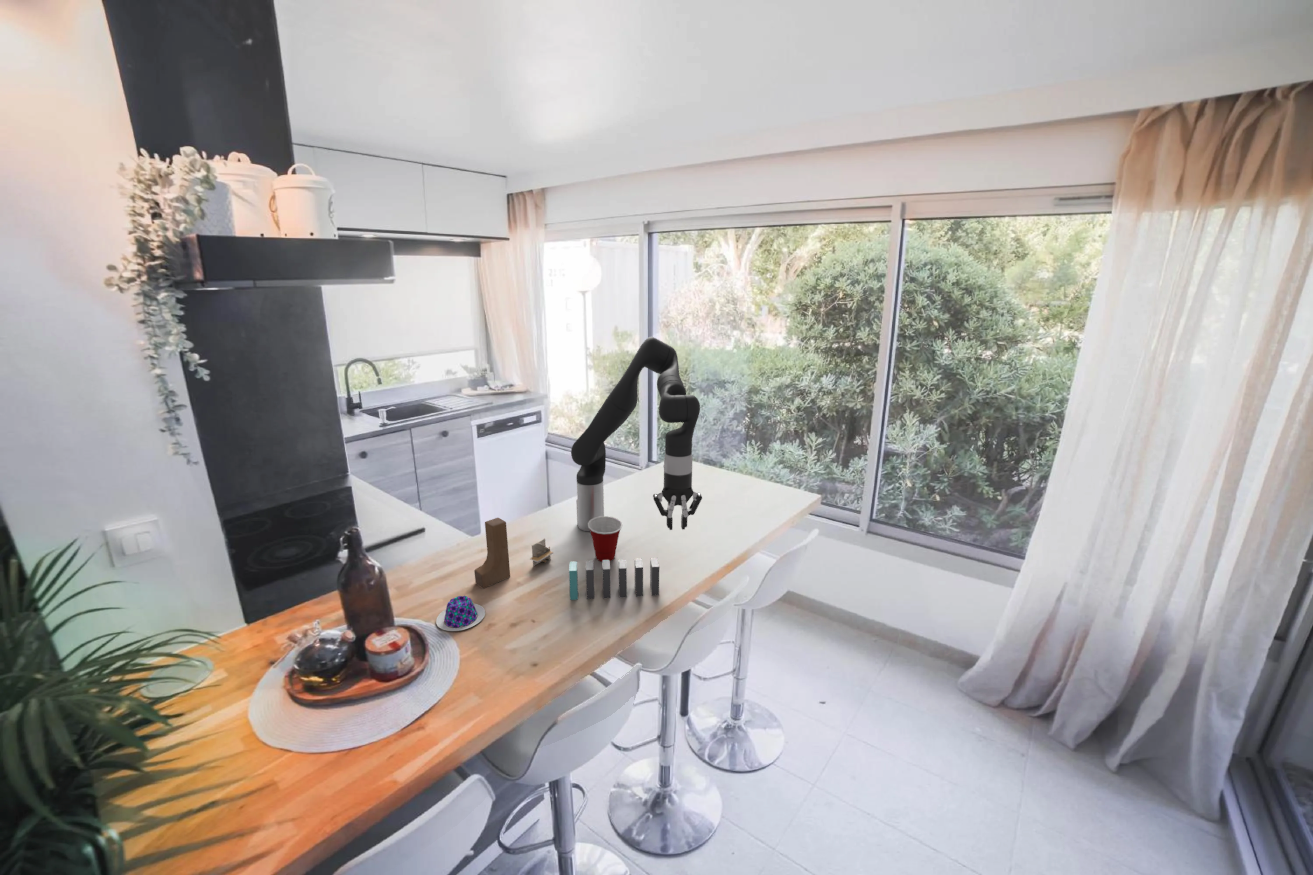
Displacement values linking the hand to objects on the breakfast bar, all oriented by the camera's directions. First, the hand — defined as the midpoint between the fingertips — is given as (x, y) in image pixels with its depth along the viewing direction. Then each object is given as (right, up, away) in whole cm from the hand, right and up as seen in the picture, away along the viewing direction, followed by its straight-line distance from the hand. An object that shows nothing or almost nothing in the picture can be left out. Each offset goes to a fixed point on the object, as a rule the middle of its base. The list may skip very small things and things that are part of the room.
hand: (676, 528), depth 147 cm
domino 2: (-24, -19, +3) cm, 31 cm away
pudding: (-56, -22, -8) cm, 61 cm away
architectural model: (-41, -15, +19) cm, 48 cm away
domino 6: (-6, -19, +5) cm, 20 cm away
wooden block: (-53, -17, +9) cm, 57 cm away
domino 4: (-15, -19, +4) cm, 24 cm away
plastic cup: (-22, -13, +22) cm, 34 cm away
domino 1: (-29, -19, +2) cm, 34 cm away
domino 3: (-20, -19, +3) cm, 27 cm away
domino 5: (-11, -19, +4) cm, 22 cm away
